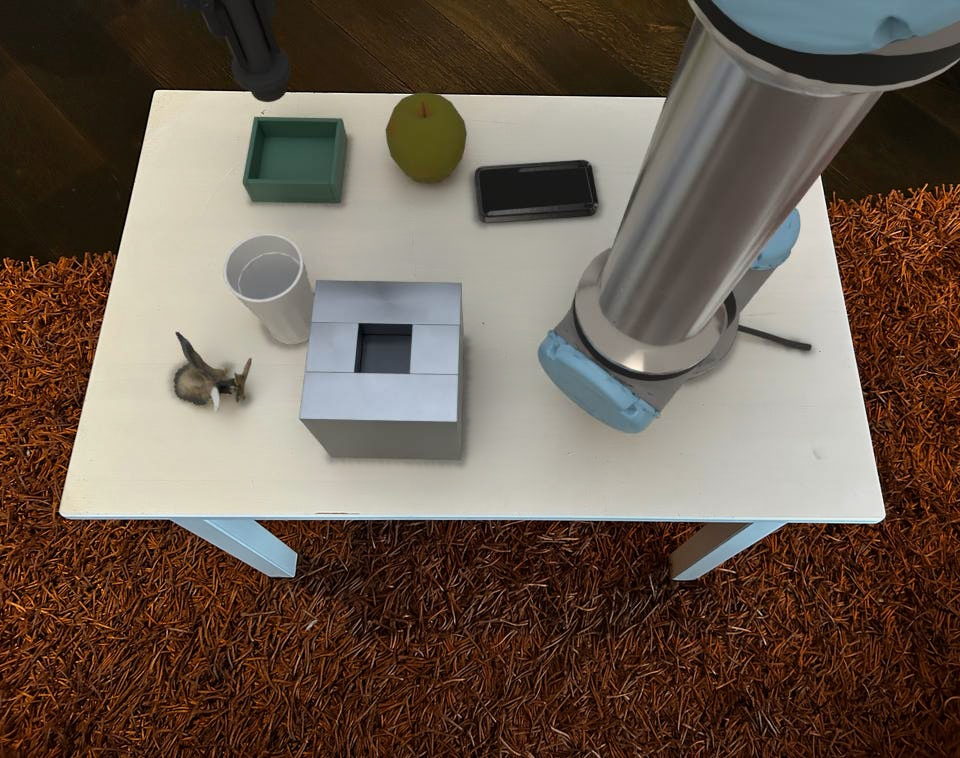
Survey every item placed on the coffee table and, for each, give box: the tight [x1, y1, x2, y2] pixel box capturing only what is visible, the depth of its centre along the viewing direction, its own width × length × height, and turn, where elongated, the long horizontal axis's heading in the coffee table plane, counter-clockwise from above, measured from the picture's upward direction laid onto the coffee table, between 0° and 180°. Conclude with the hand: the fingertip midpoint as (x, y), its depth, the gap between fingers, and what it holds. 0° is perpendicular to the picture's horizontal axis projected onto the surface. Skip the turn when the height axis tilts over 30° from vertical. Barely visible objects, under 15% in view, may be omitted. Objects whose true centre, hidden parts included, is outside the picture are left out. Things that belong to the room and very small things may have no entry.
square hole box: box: [298, 279, 465, 461], centre depth 66 cm, size 14×14×14 cm
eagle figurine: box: [172, 331, 252, 413], centre depth 71 cm, size 8×7×9 cm
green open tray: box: [241, 116, 348, 204], centre depth 82 cm, size 11×10×4 cm
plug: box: [219, 0, 292, 103], centre depth 65 cm, size 6×6×15 cm
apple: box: [385, 91, 468, 184], centre depth 79 cm, size 10×10×11 cm
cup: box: [222, 232, 315, 345], centre depth 71 cm, size 8×8×12 cm
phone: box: [474, 159, 599, 223], centre depth 82 cm, size 8×1×15 cm
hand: (255, 51), depth 67 cm, fingers closed on plug, 3 cm apart
